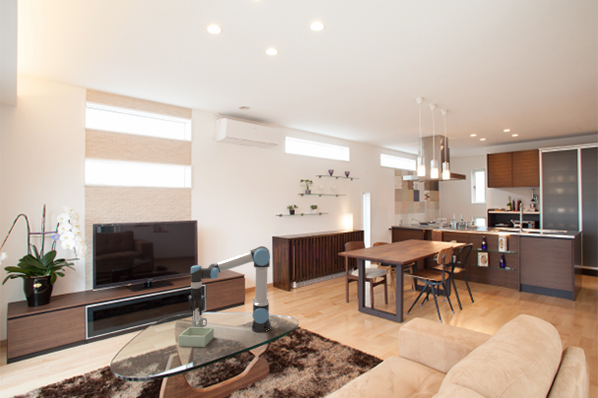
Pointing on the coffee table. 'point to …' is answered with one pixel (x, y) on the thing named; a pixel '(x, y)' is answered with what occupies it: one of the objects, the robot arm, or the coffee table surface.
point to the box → (196, 336)
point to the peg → (196, 318)
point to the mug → (199, 322)
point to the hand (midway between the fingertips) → (197, 319)
